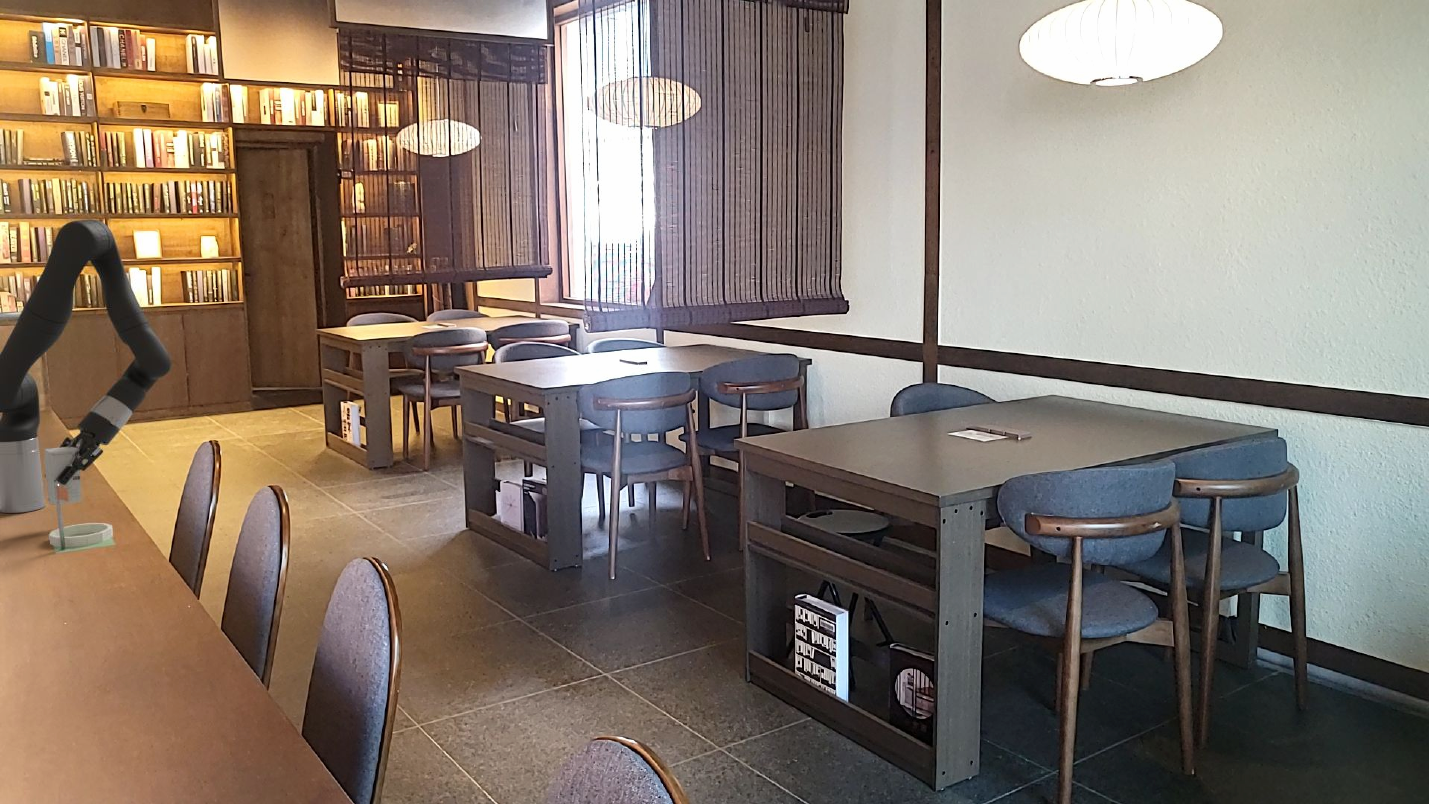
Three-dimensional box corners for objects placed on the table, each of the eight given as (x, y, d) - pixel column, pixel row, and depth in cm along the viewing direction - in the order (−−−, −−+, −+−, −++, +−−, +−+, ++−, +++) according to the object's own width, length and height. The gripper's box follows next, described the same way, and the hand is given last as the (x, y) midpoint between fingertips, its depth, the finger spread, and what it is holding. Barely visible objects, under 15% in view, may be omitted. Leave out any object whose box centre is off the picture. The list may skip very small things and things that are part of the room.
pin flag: (60, 549, 231) (53, 484, 228) (64, 548, 231) (57, 483, 229) (71, 553, 228) (64, 487, 226) (75, 552, 228) (68, 486, 226)
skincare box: (52, 506, 244) (47, 452, 242) (47, 502, 247) (42, 449, 245) (83, 501, 248) (79, 448, 246) (77, 497, 251) (73, 445, 249)
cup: (40, 541, 237) (39, 532, 237) (96, 529, 246) (95, 520, 246) (66, 550, 230) (65, 540, 230) (122, 537, 240) (121, 528, 239)
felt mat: (49, 535, 243) (49, 533, 243) (106, 527, 249) (106, 526, 249) (55, 555, 228) (55, 553, 228) (115, 546, 234) (115, 544, 234)
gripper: (77, 406, 254) (25, 466, 247) (108, 413, 246) (55, 476, 239) (102, 425, 260) (52, 485, 252) (134, 433, 251) (83, 495, 244)
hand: (54, 480), depth 245 cm, fingers closed on skincare box, 5 cm apart
